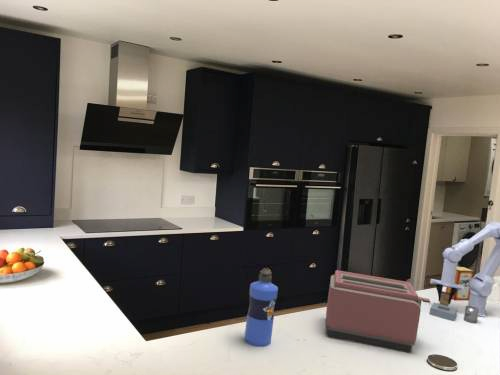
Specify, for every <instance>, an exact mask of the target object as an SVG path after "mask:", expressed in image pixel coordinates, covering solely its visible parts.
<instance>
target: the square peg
mask: <svg viewBox="0 0 500 375" xmlns="http://www.w3.org/2000/svg"><path fill="white" fill-rule="evenodd" d="M449 298H450V293H448V292H446V291H443V290H442V292H441V298H440V301H439V304H442V305H445V306H449V307H450V304H448V303H449Z"/></svg>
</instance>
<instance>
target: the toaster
mask: <svg viewBox="0 0 500 375" xmlns="http://www.w3.org/2000/svg"><path fill="white" fill-rule="evenodd" d="M417 293H418V292H416V290H415V288H414V286H413V285H412V283H411V282H409V281H404V280H397V279H392V278H385V277H379V276H374V275H367V274H362V273H356V272H355V273H354V272H349V271H346V270H345V271H344V270H335V271H334V274H332V275H331V276H330V281H329V288H328V295H327V303H326V304H327V305H326V315H325V324H326V325H327V329H326V335H327V337H329V338H332V339H337V340H342V341H349V342H354V343H359V344H363V345H369V346H375V347H380V348H384V349H385V348H386V349H389V350H395V351H401V352H404V353H411V352H412V348H413V346H414V345H415V344H416V340H417V337H418V330H419V324H420V317H421V311H422V309H421V308H422V303H428V304H430V303H431V300H430V299H429V298H427V297H422V296H419V295H418V294H417Z"/></svg>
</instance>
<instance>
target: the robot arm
mask: <svg viewBox="0 0 500 375" xmlns="http://www.w3.org/2000/svg"><path fill="white" fill-rule="evenodd" d="M488 238H493V239H494V242H495V245H494V247H493V248H492V251H491V253H490V254H489V256H488V258H487V259H486V261H485V263H484V265H483V266H482V268H481V270H480V271H479V272H478V273H476V274H474V275H473V278H472V279H471V280H470V281H469V283H468V286H469V288H470V296H469V300H468V302H467V306H473V307H476V308H478V309H479V312H478V317H481V318H485V316H486V312H487V311H486V306H487V299H488V296H490V295H491V294H492V292H493V286H494V281H493V277H494V276H495V274H496V272H497V271H498V269H499V267H500V222H499V221H496V220H493V221H491V222H489V224H486V225H485V227H484V228H482V229H481V230H480V231H478V232H477V233H476V234H474V235H473V236H472V237H470V238H464V239H463V238H462V239H460V241H458V243H456V244H455V245H452V246H451V247H446V248H445V249H444V251H443V252H442V256H443V266H442V272H441V278H440V279H434V278H430V281H429V283H430V284H432V285H436V286H435V288H436V291H437V294H438V295H437V296H438V302H440V298H441V292H442V291H443V287H445V288H446V287H449V288H451V290H450V298H449V303H448V304H449V305H450V304H451V302H452V300H453V299H452V297H453V296H454V294H455V293H456V292H457V290H461V291H464V288H465V287H464V286H461V285H457V284H454V282H455V276H456V270H457V267H458V262H460V261H461V260H462V257H464V256H465V255H466V254H468V253H469V252H471V251H472V250H474V247H475V246H476V245H478V244H479V243H481V242H483V241H484V240H487V239H488Z"/></svg>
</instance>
